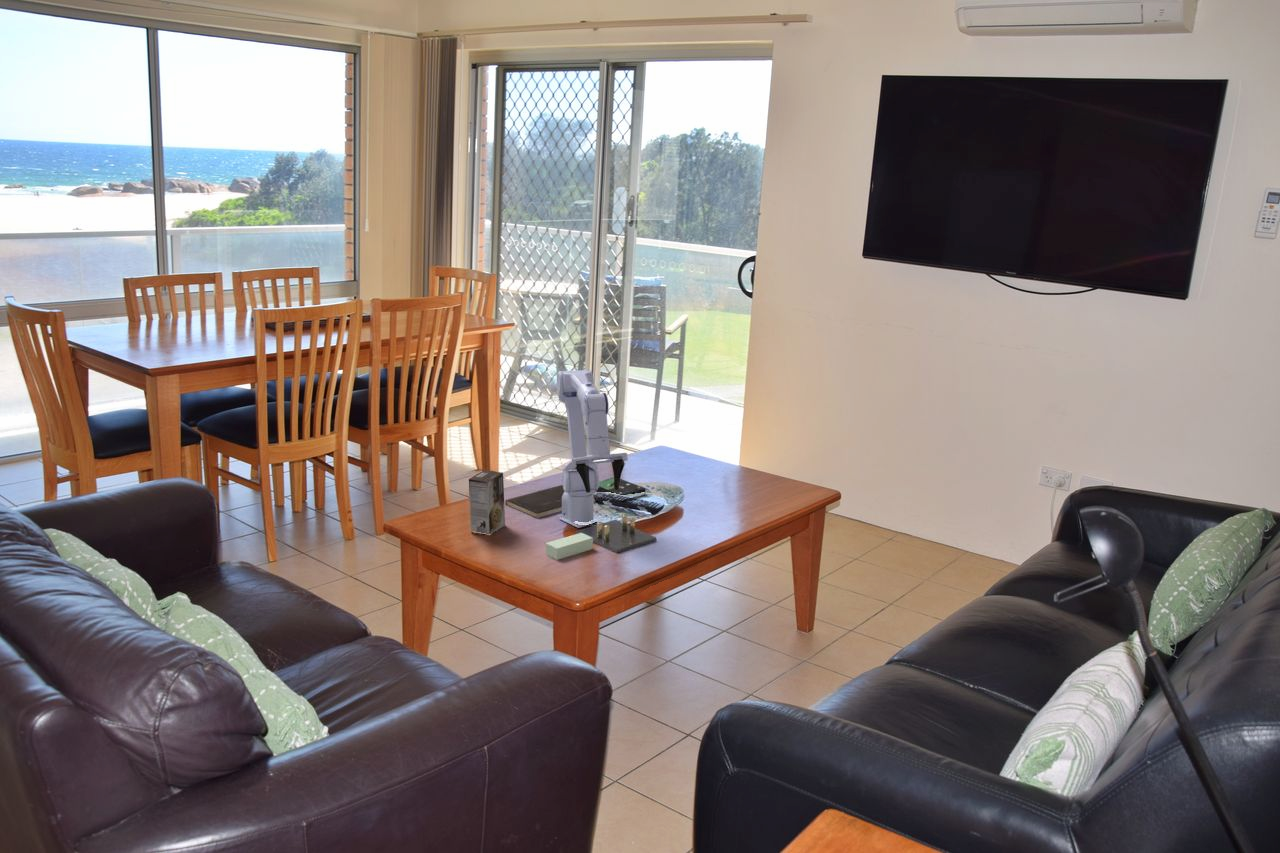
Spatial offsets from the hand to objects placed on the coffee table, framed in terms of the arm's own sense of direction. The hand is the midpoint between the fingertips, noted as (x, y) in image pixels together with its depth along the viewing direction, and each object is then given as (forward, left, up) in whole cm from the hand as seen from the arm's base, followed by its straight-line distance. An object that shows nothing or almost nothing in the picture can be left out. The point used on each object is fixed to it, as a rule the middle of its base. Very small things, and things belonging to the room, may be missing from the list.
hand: (602, 491), depth 268 cm
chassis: (-9, +11, -18) cm, 23 cm away
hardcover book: (-44, +14, -19) cm, 50 cm away
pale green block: (-9, -5, -19) cm, 21 cm away
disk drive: (-39, +36, -19) cm, 56 cm away
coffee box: (-37, -13, -19) cm, 43 cm away
